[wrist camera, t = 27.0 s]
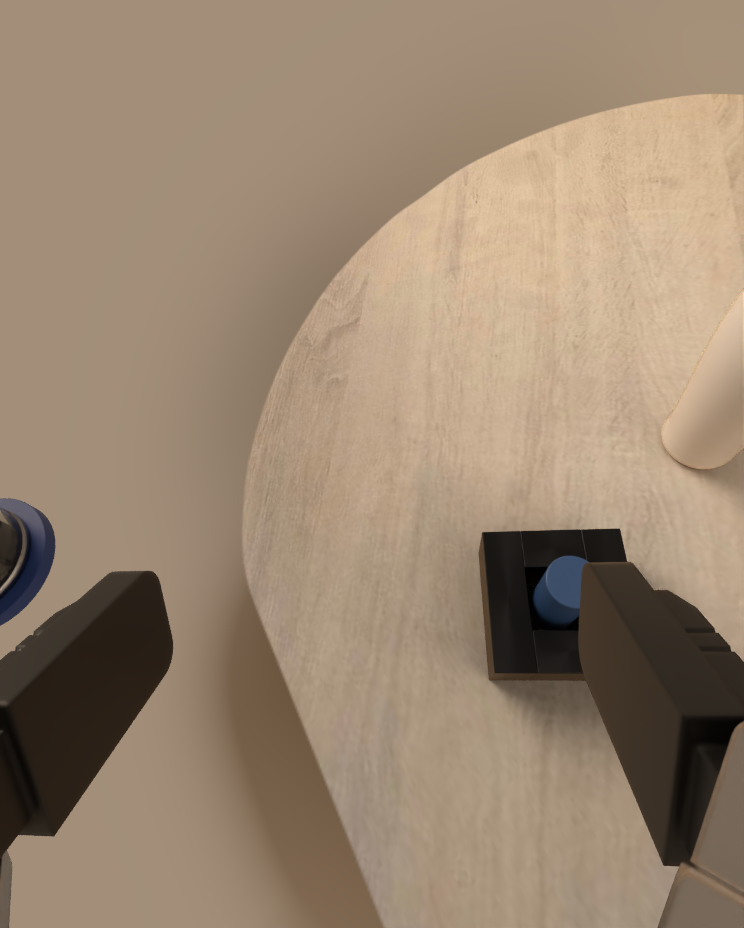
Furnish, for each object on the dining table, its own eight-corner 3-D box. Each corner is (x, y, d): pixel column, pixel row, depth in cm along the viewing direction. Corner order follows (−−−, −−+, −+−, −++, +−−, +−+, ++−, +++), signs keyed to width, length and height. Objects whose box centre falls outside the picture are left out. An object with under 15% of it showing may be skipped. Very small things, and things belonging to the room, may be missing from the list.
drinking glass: (639, 409, 43) (725, 265, 30) (726, 402, 42) (854, 252, 29) (661, 484, 40) (769, 360, 27) (756, 477, 39) (915, 347, 26)
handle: (516, 618, 37) (534, 588, 29) (537, 582, 38) (560, 544, 30) (557, 644, 36) (587, 620, 28) (578, 606, 36) (612, 573, 29)
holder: (488, 680, 35) (494, 673, 31) (478, 552, 39) (482, 532, 35) (627, 680, 34) (651, 673, 30) (602, 549, 38) (620, 528, 34)
